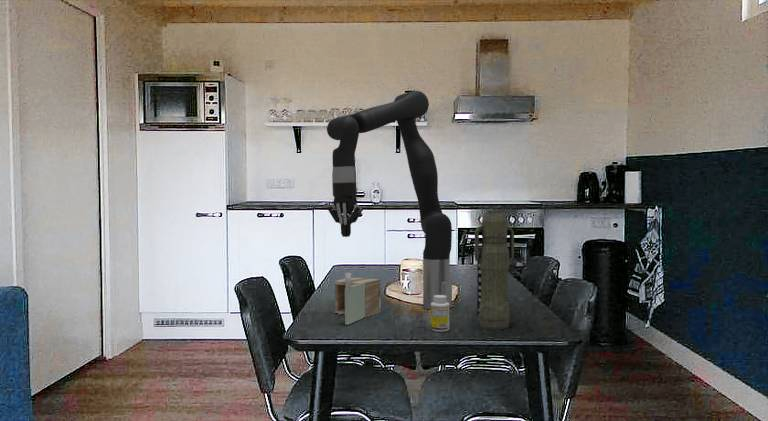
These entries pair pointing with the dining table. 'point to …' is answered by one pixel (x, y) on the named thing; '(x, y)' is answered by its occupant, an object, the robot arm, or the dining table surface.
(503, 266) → the thermos
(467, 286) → the dining table surface
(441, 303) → the supplement bottle
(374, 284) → the birch box
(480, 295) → the white-spotted black cylinder
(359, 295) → the grey-green rectangular panel
